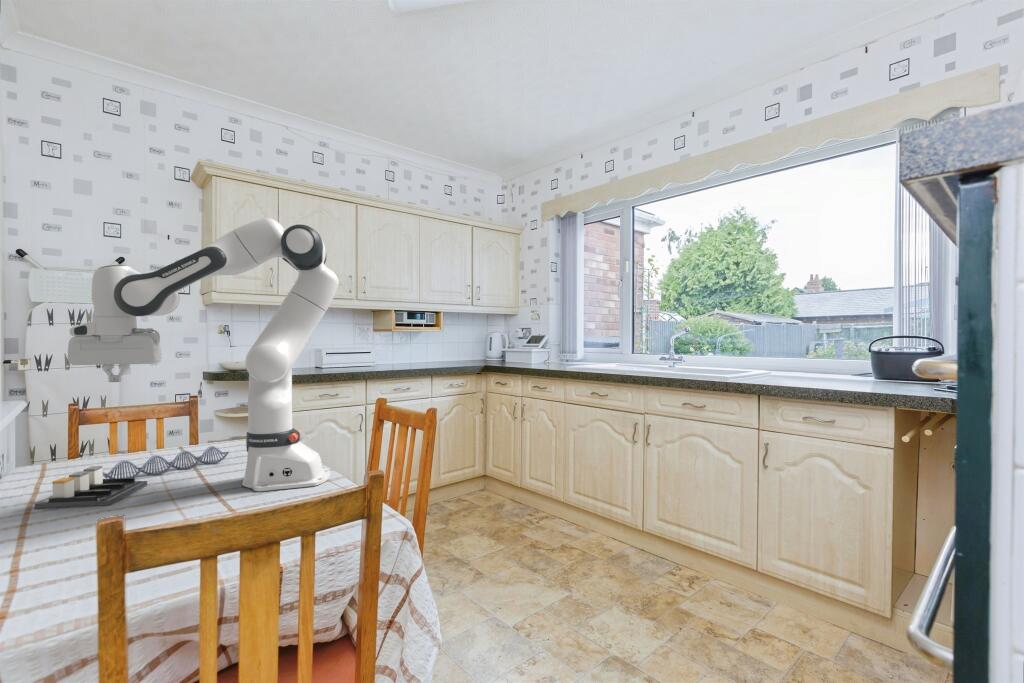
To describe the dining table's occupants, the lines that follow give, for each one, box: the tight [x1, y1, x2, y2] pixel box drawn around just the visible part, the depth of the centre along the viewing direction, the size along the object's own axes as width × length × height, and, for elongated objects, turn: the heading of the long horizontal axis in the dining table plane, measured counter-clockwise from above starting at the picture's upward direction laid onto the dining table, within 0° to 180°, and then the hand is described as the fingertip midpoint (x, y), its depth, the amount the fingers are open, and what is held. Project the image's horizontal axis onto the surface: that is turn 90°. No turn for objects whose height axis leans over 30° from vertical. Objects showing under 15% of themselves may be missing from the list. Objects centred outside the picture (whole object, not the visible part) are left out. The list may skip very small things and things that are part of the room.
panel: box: [34, 477, 148, 509], centre depth 123 cm, size 16×15×2 cm
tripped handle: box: [52, 476, 74, 498], centre depth 118 cm, size 2×3×5 cm
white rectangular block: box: [68, 470, 89, 491], centre depth 123 cm, size 2×3×5 cm
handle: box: [83, 465, 104, 484], centre depth 128 cm, size 2×3×5 cm
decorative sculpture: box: [103, 445, 230, 479], centre depth 144 cm, size 6×31×6 cm, turn 141°
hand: (117, 382), depth 126 cm, fingers closed
